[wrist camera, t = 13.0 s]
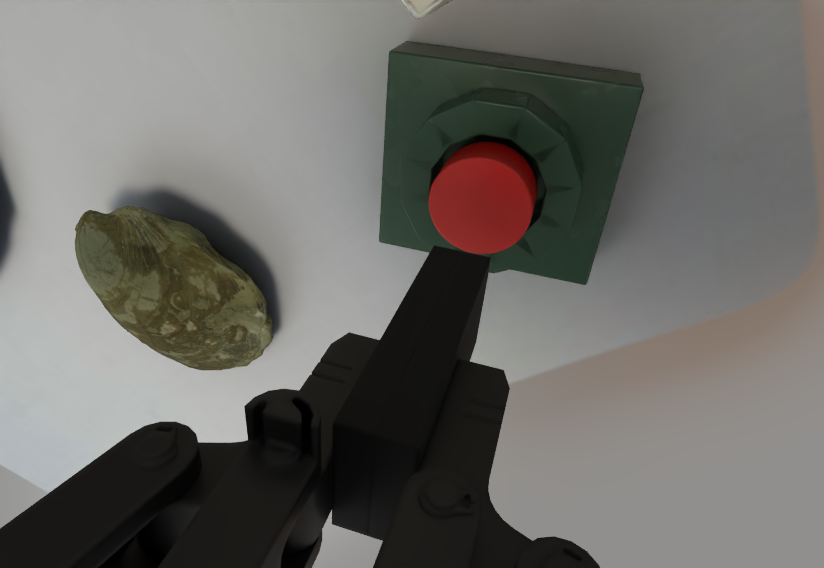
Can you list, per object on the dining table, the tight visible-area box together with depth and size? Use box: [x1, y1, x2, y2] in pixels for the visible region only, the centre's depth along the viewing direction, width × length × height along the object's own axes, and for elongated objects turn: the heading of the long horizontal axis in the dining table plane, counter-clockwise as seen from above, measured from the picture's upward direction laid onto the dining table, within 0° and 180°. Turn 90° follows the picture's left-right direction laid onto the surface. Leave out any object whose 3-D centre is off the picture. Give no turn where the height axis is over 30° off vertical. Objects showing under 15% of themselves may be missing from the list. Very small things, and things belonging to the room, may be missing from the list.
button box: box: [379, 41, 644, 285], centre depth 22 cm, size 9×8×4 cm
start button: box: [429, 141, 537, 254], centre depth 20 cm, size 4×4×2 cm
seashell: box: [75, 206, 273, 370], centre depth 31 cm, size 10×7×10 cm
